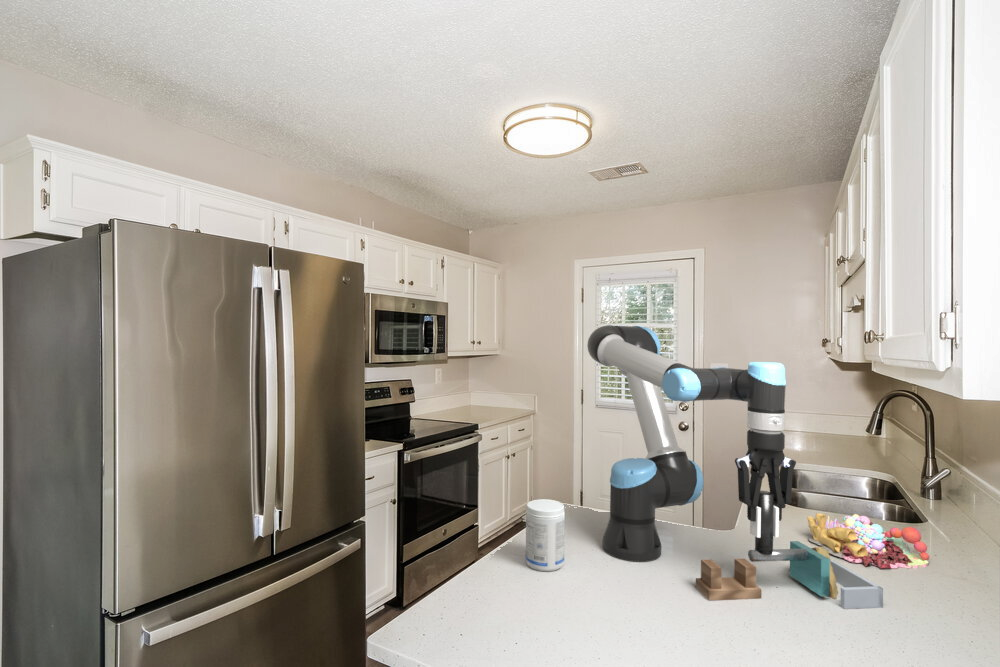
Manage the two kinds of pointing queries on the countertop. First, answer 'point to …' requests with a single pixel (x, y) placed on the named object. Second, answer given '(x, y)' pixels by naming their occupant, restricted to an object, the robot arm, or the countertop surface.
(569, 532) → the countertop surface
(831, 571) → the rock
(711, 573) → the rod stand
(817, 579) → the lever handle
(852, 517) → the colorful coral reef
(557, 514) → the supplement tub
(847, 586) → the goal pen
